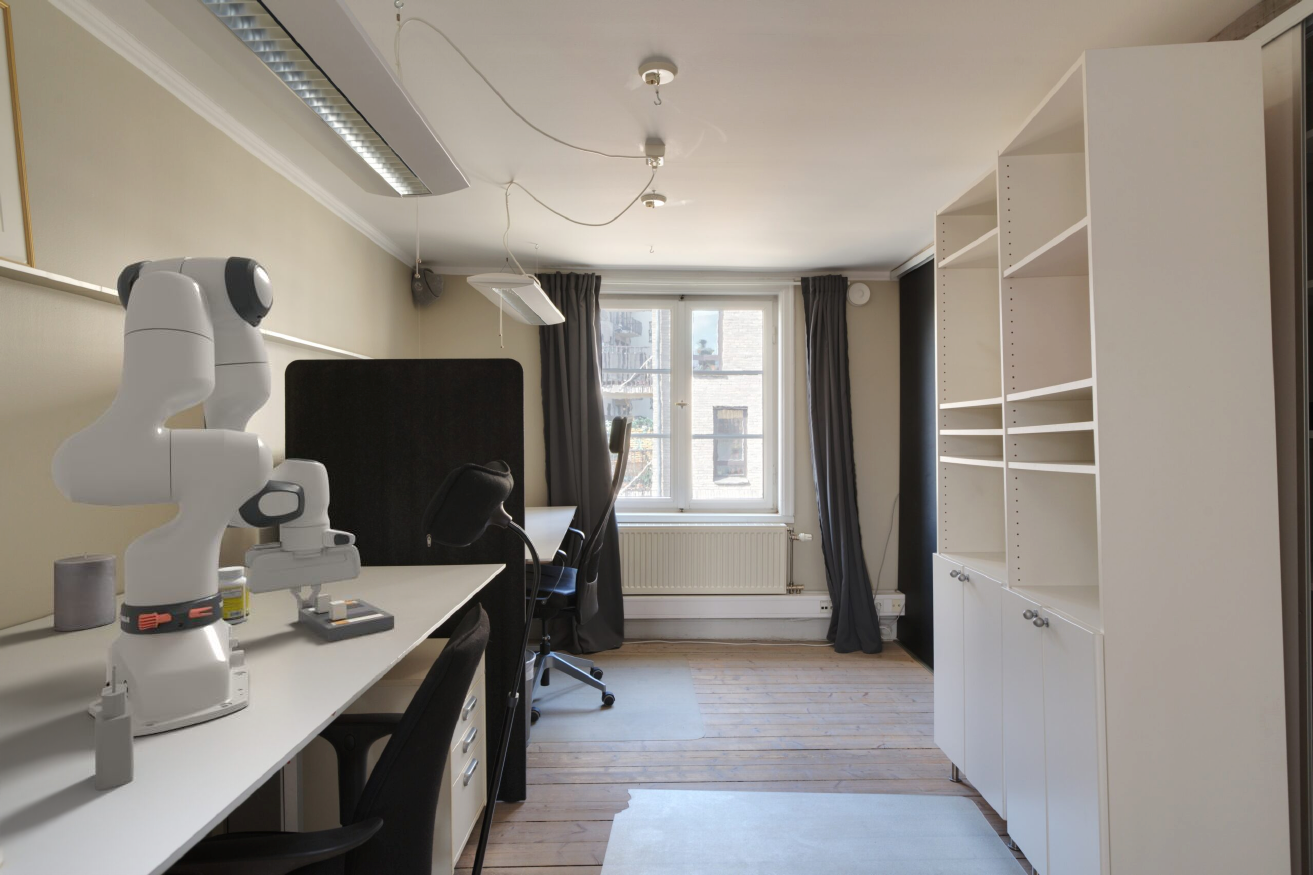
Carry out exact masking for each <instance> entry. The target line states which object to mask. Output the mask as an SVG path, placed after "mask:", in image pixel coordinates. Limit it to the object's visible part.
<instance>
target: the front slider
mask: <svg viewBox="0 0 1313 875" xmlns="http://www.w3.org/2000/svg"><path fill="white" fill-rule="evenodd" d="M329 618H330V619H332V620H338V619H343V618H346V602H344V600H342V599H340V600H336V601H331V602H329Z"/></svg>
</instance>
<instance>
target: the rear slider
mask: <svg viewBox="0 0 1313 875" xmlns="http://www.w3.org/2000/svg"><path fill="white" fill-rule="evenodd" d="M329 602H332V596H331V595H330V594H328V593H325V594H318V596H317V597H316V598H315V607H314V611H316V612H317V613H322V612H327V611H329Z"/></svg>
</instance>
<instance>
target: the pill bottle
mask: <svg viewBox="0 0 1313 875" xmlns="http://www.w3.org/2000/svg"><path fill="white" fill-rule="evenodd" d="M244 574H245V567H244V566H238V565H236V566H228V567H222V568H218V590H219V591H221V594H222V599H223V606H222V607H223V616H222V617H221V618H222V619H223V620H224V621H225V622H227V623H229V624H230V625H236V624H240V623H243V622H246V621H247V620H249V618H250V594H249V591H248V590H247V588H246V577H245V576H244Z"/></svg>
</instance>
